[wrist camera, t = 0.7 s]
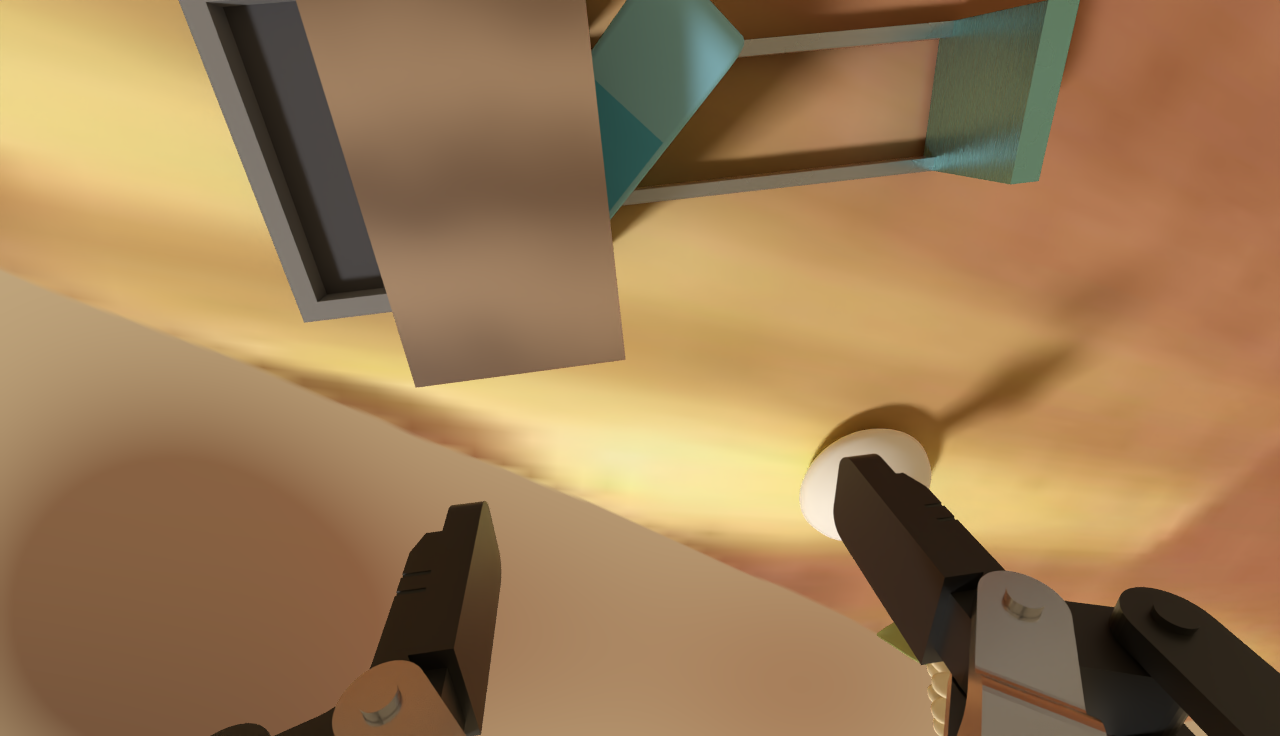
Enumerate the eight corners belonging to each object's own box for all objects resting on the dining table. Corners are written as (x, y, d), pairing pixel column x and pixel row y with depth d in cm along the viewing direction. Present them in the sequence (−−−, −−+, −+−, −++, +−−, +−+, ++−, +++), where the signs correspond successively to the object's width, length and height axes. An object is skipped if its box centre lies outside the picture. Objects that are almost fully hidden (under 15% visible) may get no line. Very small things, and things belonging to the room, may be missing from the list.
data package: (639, 2, 30) (669, -62, 19) (698, 63, 32) (756, 35, 21) (514, 178, 33) (479, 208, 22) (573, 225, 35) (567, 275, 24)
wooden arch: (419, 3, 29) (262, -108, 14) (568, -9, 30) (571, -129, 15) (479, 267, 36) (415, 387, 20) (600, 253, 36) (625, 359, 21)
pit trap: (191, -19, 28) (168, -26, 26) (352, -31, 28) (339, -39, 27) (316, 312, 36) (304, 322, 34) (439, 297, 36) (433, 306, 35)
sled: (462, 67, 30) (430, 55, 23) (967, 21, 32) (1080, -3, 25) (493, 216, 34) (473, 246, 27) (944, 166, 36) (1038, 181, 29)
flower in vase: (940, 428, 46) (1287, 728, 24) (884, 530, 51) (1132, 862, 29) (803, 405, 44) (1052, 719, 21) (756, 515, 48) (922, 870, 26)
